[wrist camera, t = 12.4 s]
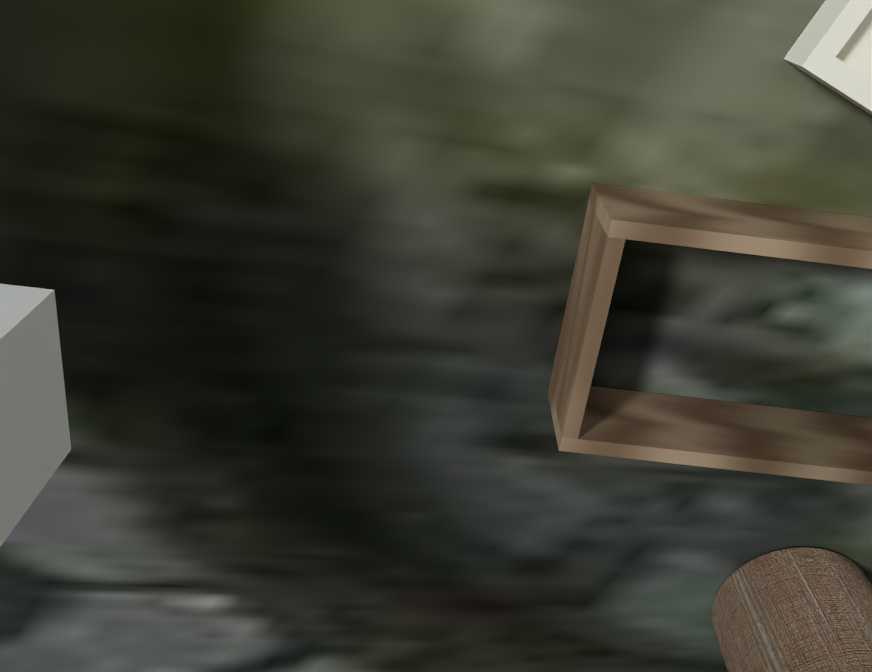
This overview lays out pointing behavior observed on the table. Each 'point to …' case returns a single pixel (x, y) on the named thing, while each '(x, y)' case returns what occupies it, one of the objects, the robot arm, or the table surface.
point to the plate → (839, 50)
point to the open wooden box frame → (685, 416)
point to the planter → (795, 614)
